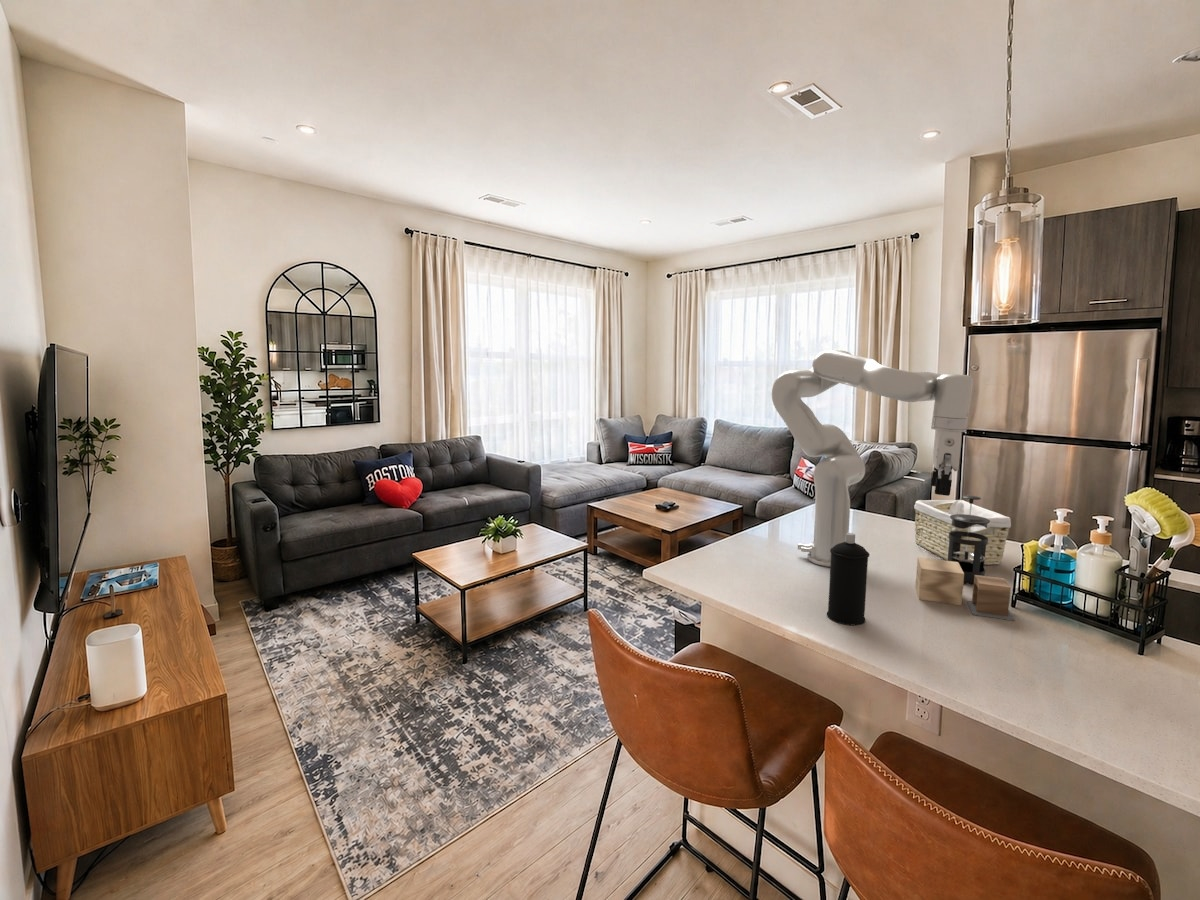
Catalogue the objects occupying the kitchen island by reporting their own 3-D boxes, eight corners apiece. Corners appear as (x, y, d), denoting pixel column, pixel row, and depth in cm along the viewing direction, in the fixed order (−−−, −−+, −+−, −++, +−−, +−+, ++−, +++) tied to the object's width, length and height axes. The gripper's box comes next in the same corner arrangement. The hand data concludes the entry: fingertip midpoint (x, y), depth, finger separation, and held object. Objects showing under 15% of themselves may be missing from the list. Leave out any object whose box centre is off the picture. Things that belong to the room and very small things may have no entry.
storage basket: (909, 542, 184) (912, 498, 182) (959, 542, 183) (962, 498, 181) (952, 567, 160) (956, 517, 158) (1009, 567, 160) (1014, 517, 158)
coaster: (972, 614, 129) (972, 613, 129) (966, 601, 136) (966, 600, 136) (1014, 620, 126) (1014, 619, 126) (1005, 607, 133) (1006, 605, 133)
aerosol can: (862, 628, 122) (868, 541, 120) (823, 620, 127) (827, 535, 124) (867, 614, 129) (872, 532, 127) (829, 607, 134) (834, 527, 131)
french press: (995, 585, 146) (1003, 500, 143) (958, 585, 146) (966, 500, 143) (967, 569, 158) (974, 491, 154) (933, 569, 158) (940, 491, 155)
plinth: (918, 599, 138) (921, 568, 137) (915, 586, 146) (917, 557, 145) (961, 605, 134) (964, 573, 133) (955, 591, 142) (958, 562, 141)
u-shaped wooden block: (1007, 616, 127) (1010, 587, 126) (976, 611, 130) (979, 583, 129) (1001, 606, 132) (1004, 578, 131) (972, 602, 135) (974, 574, 134)
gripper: (972, 429, 129) (962, 500, 132) (961, 421, 144) (952, 485, 147) (935, 426, 132) (925, 496, 135) (928, 419, 147) (920, 481, 151)
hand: (939, 490), depth 141 cm, fingers open, 9 cm apart
